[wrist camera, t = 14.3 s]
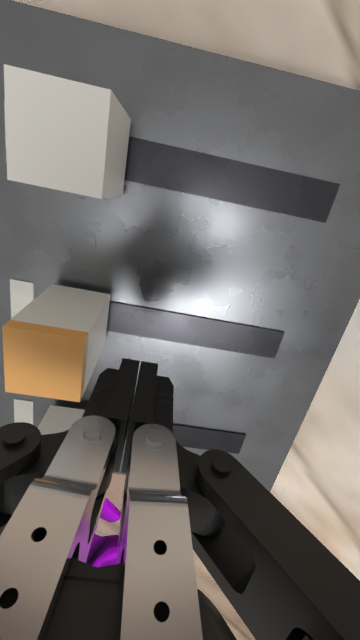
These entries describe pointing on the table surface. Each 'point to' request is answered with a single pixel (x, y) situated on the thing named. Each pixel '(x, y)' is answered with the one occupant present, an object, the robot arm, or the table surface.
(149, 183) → the panel
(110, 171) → the breaker
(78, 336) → the block
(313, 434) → the table surface
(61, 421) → the block
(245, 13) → the table surface
